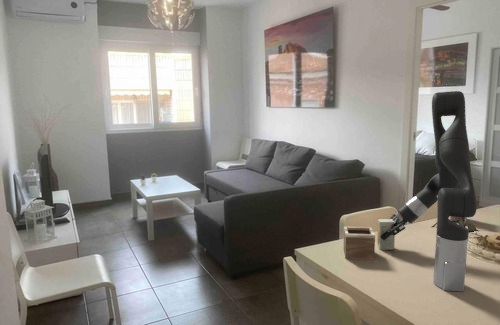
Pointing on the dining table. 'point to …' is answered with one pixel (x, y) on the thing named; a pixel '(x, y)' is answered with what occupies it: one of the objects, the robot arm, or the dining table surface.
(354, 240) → the slot box
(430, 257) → the dining table surface
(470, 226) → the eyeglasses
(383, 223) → the skincare box
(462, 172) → the robot arm
